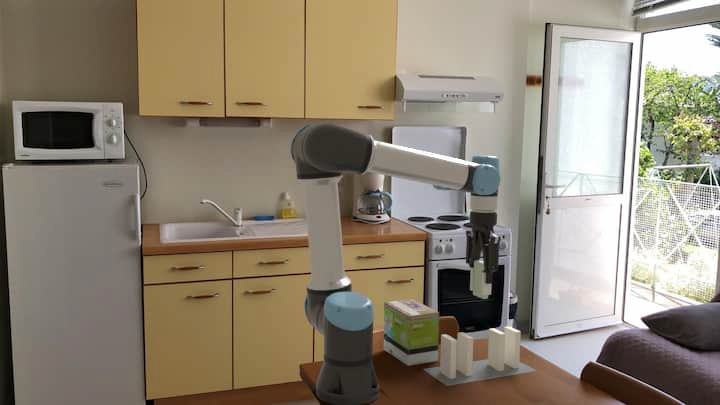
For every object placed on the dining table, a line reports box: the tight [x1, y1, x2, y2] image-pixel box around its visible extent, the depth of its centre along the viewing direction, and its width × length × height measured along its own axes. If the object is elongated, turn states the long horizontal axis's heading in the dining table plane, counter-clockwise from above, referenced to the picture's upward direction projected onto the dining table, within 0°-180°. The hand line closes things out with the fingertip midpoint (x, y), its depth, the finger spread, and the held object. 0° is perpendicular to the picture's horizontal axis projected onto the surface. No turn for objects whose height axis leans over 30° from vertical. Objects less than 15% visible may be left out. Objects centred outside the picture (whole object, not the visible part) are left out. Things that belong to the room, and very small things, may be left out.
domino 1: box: [439, 334, 457, 379], centre depth 154 cm, size 2×5×10 cm, turn 23°
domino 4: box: [503, 326, 522, 369], centre depth 162 cm, size 2×5×10 cm, turn 23°
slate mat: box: [422, 358, 538, 387], centre depth 159 cm, size 28×12×1 cm, turn 113°
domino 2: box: [456, 331, 474, 376], centre depth 156 cm, size 2×5×10 cm, turn 23°
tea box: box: [383, 298, 440, 366], centre depth 169 cm, size 15×10×15 cm
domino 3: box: [487, 327, 505, 371], centre depth 160 cm, size 2×5×10 cm, turn 23°
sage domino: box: [472, 259, 489, 300], centre depth 169 cm, size 2×5×10 cm, turn 23°
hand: (480, 292), depth 170 cm, fingers closed on sage domino, 5 cm apart
